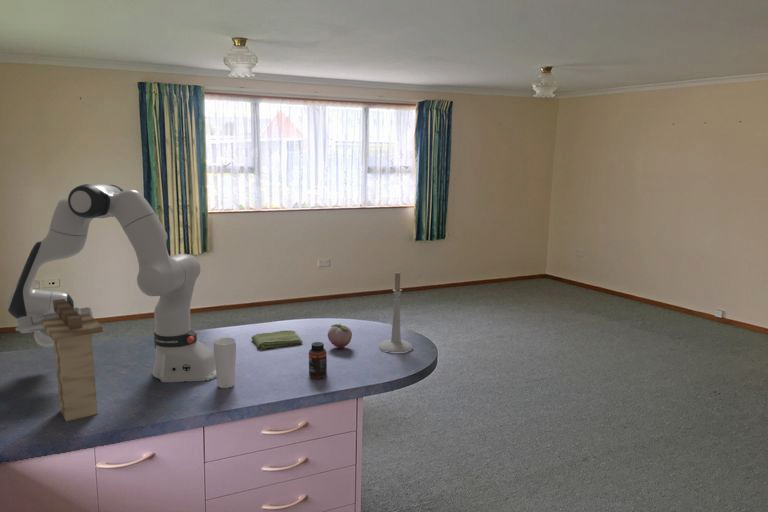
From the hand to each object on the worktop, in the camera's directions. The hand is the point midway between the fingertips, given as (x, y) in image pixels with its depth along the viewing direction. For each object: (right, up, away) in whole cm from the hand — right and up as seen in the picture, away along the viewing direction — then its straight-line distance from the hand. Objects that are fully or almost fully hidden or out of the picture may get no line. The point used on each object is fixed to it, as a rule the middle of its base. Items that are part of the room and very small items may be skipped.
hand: (58, 312), depth 175 cm
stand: (+11, -28, -9) cm, 31 cm away
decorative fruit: (+81, -18, +47) cm, 95 cm away
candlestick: (+102, -18, +49) cm, 114 cm away
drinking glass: (+47, -25, +11) cm, 54 cm away
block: (+8, -1, -10) cm, 13 cm away
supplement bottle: (+75, -23, +21) cm, 81 cm away
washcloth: (+56, -17, +52) cm, 78 cm away
